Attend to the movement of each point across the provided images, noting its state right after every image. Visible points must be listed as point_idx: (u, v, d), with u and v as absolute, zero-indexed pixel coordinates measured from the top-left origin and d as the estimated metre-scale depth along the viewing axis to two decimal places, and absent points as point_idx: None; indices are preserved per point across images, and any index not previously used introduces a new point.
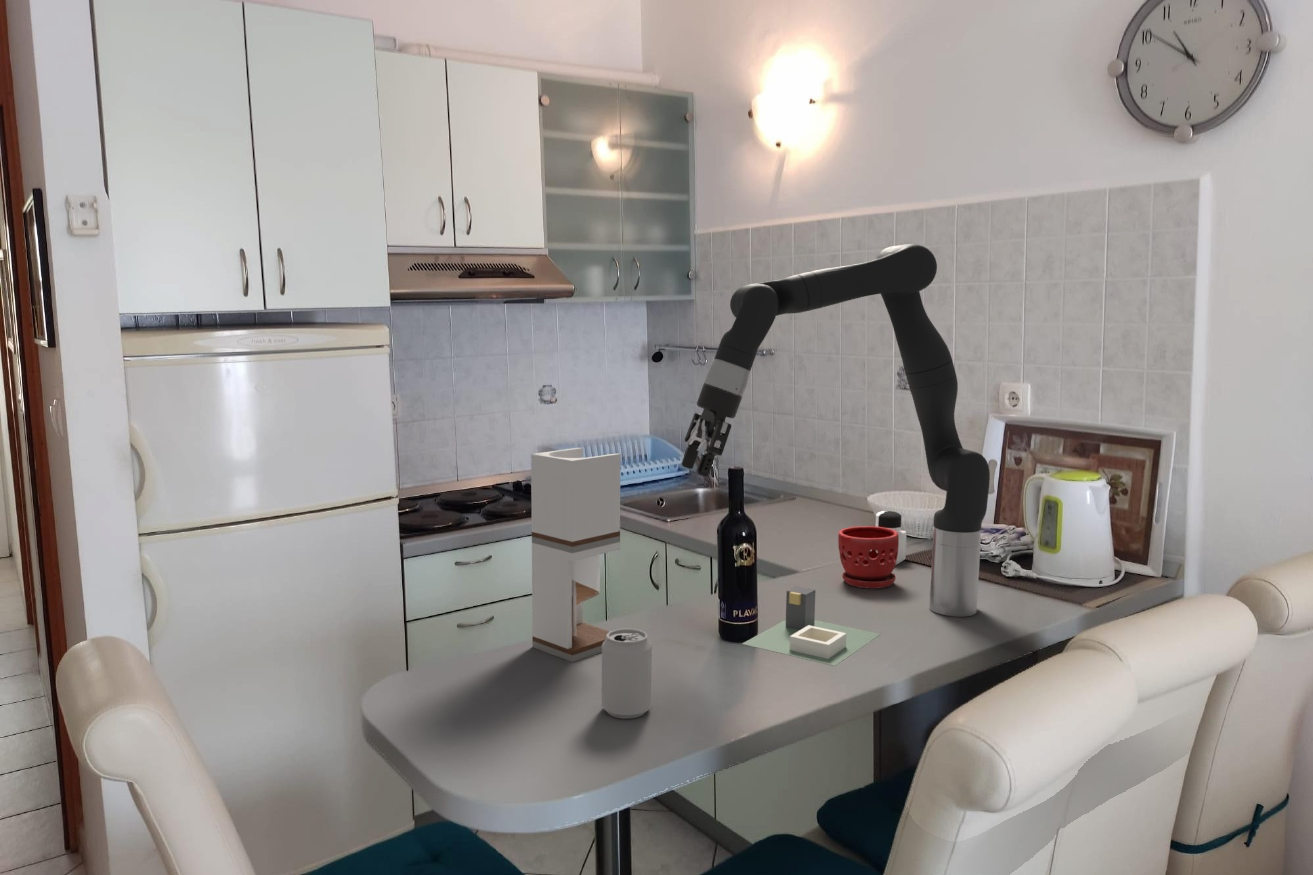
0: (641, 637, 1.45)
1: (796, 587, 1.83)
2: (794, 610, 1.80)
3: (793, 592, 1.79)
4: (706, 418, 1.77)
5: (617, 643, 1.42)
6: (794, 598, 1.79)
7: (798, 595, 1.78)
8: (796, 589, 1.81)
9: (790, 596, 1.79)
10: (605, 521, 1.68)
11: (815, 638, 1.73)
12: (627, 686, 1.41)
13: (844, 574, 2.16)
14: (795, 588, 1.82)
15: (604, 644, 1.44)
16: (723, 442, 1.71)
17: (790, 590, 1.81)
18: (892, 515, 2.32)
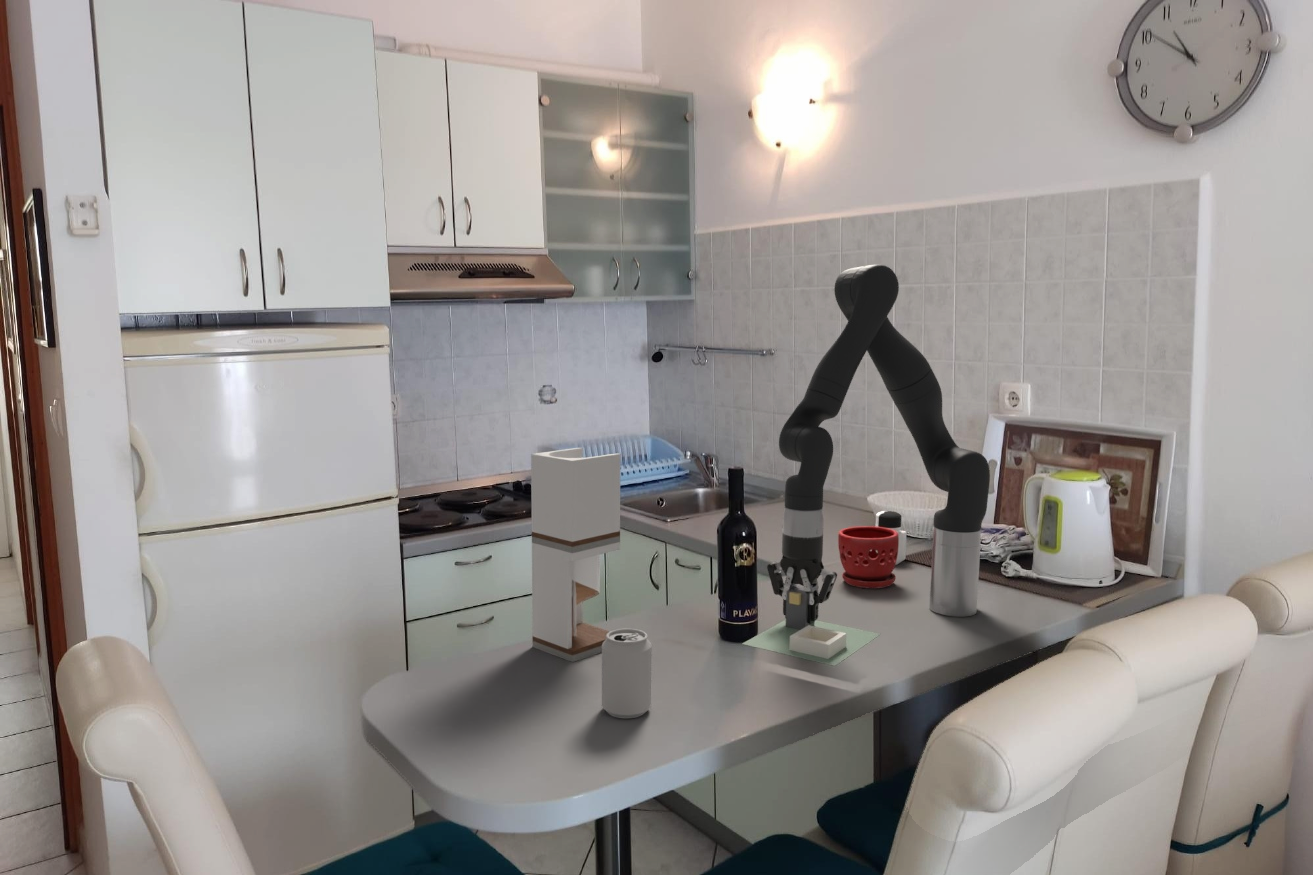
0: (641, 637, 1.45)
1: (796, 587, 1.83)
2: (794, 610, 1.80)
3: (793, 592, 1.79)
4: (798, 565, 1.79)
5: (617, 643, 1.42)
6: (794, 598, 1.79)
7: (798, 595, 1.78)
8: (796, 589, 1.81)
9: (790, 596, 1.79)
10: (605, 521, 1.68)
11: (815, 638, 1.73)
12: (627, 686, 1.41)
13: (844, 574, 2.16)
14: (795, 588, 1.82)
15: (604, 644, 1.44)
16: (830, 590, 1.78)
17: (790, 590, 1.81)
18: (892, 515, 2.32)
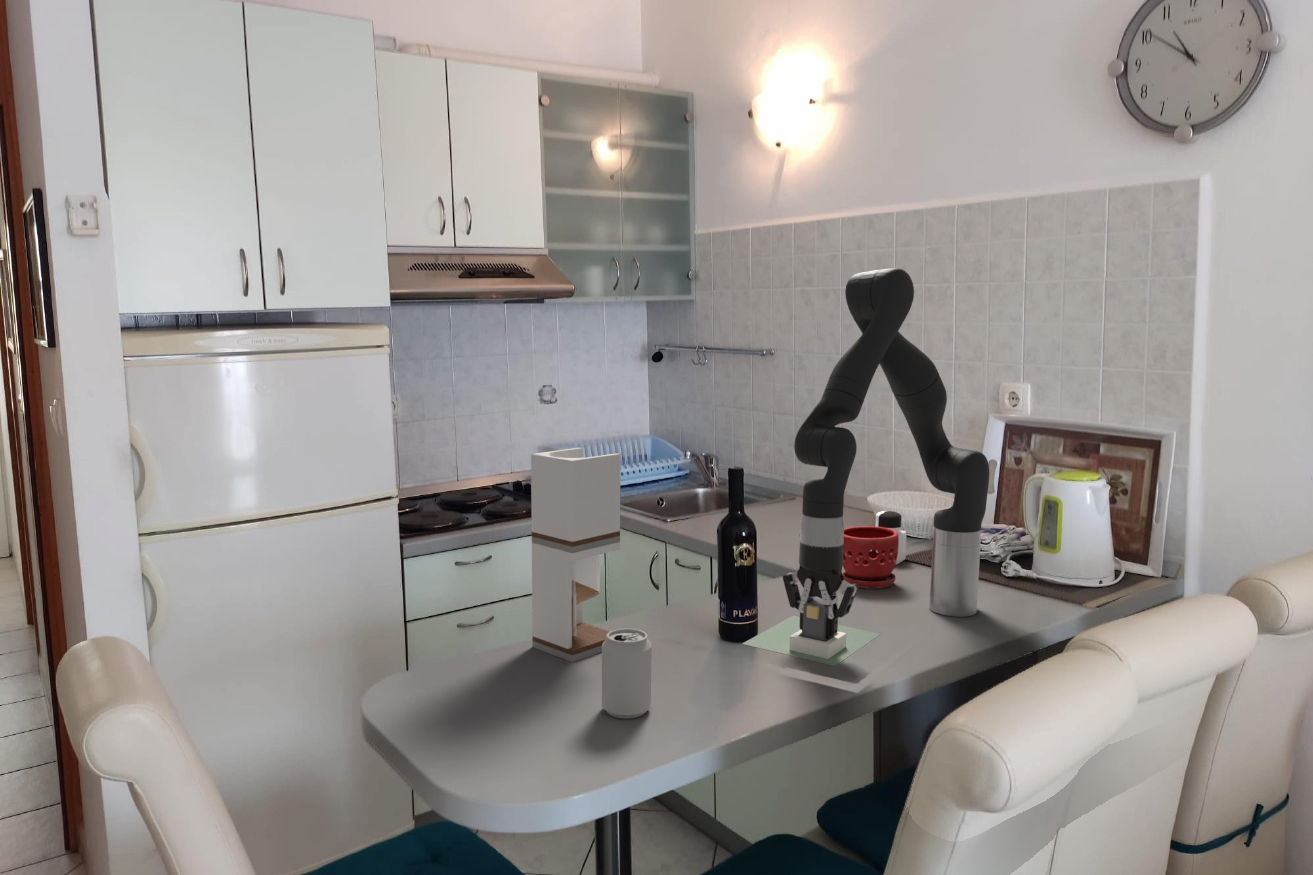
0: (641, 637, 1.45)
1: (814, 600, 1.70)
2: (811, 625, 1.68)
3: (811, 605, 1.67)
4: (816, 576, 1.67)
5: (617, 643, 1.42)
6: (812, 612, 1.67)
7: (816, 609, 1.66)
8: (814, 602, 1.69)
9: (807, 610, 1.67)
10: (605, 521, 1.68)
11: None
12: (627, 686, 1.41)
13: (844, 574, 2.16)
14: (813, 601, 1.70)
15: (604, 644, 1.44)
16: (851, 603, 1.66)
17: (807, 603, 1.68)
18: (892, 515, 2.32)
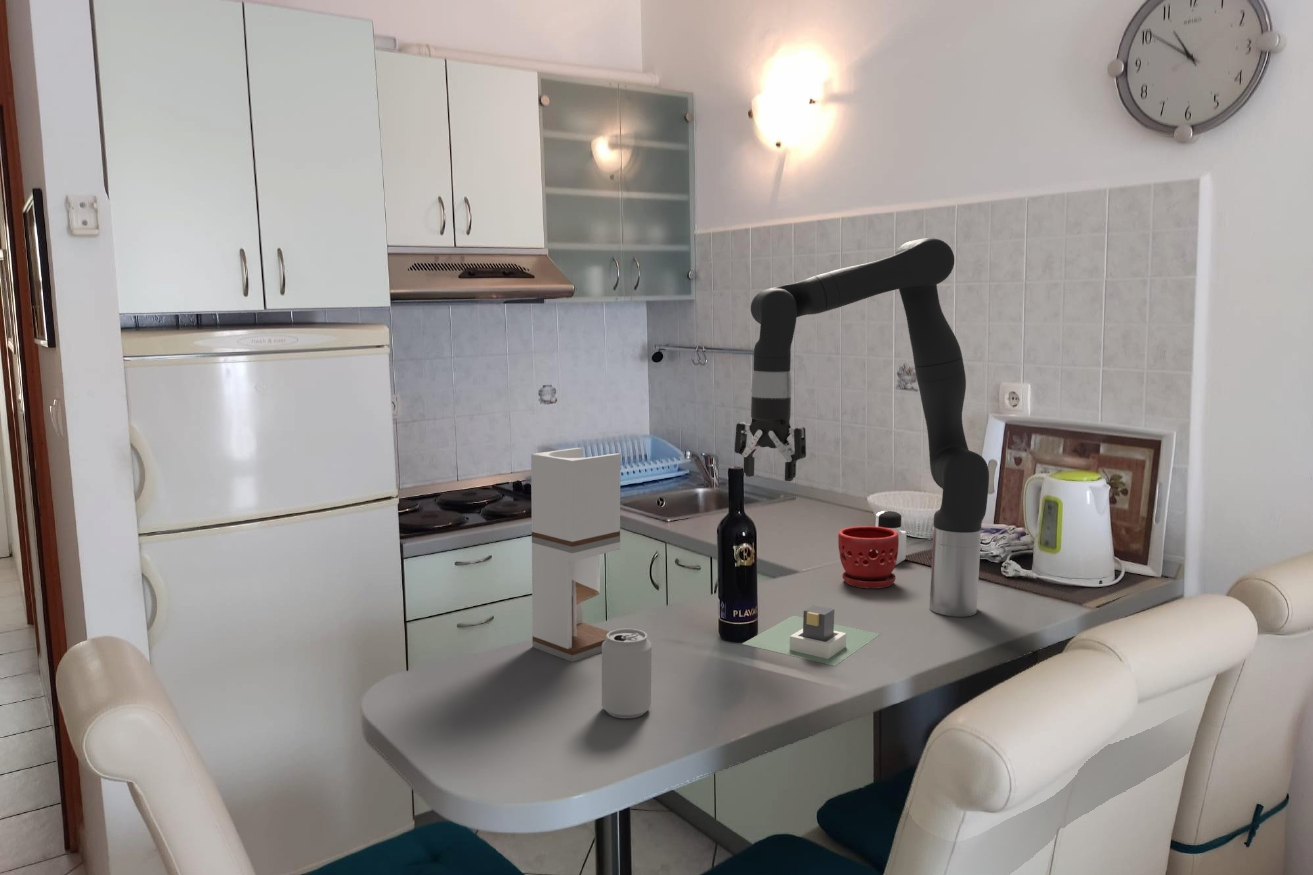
0: (641, 637, 1.45)
1: (813, 606, 1.70)
2: (811, 632, 1.68)
3: (811, 612, 1.67)
4: (766, 427, 1.84)
5: (617, 643, 1.42)
6: (812, 619, 1.66)
7: (816, 615, 1.66)
8: (814, 609, 1.69)
9: (807, 616, 1.67)
10: (605, 521, 1.68)
11: None
12: (627, 686, 1.41)
13: (844, 574, 2.16)
14: (812, 607, 1.70)
15: (604, 644, 1.44)
16: (804, 445, 1.82)
17: (807, 610, 1.68)
18: (892, 515, 2.32)
